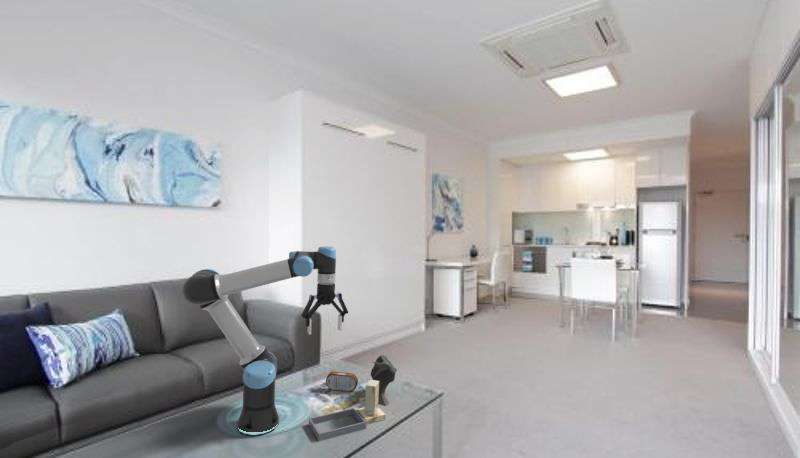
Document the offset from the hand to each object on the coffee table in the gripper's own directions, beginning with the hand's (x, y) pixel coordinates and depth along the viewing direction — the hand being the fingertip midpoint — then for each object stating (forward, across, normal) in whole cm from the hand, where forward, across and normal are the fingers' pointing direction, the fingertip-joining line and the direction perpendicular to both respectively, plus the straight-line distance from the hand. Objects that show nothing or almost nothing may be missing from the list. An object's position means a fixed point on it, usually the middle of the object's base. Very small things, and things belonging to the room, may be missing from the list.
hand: (324, 331), depth 175 cm
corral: (+32, -1, -20) cm, 37 cm away
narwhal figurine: (+32, +27, -4) cm, 42 cm away
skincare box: (+30, +14, -19) cm, 38 cm away
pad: (+32, +14, -19) cm, 40 cm away
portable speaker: (+32, +12, +8) cm, 35 cm away
